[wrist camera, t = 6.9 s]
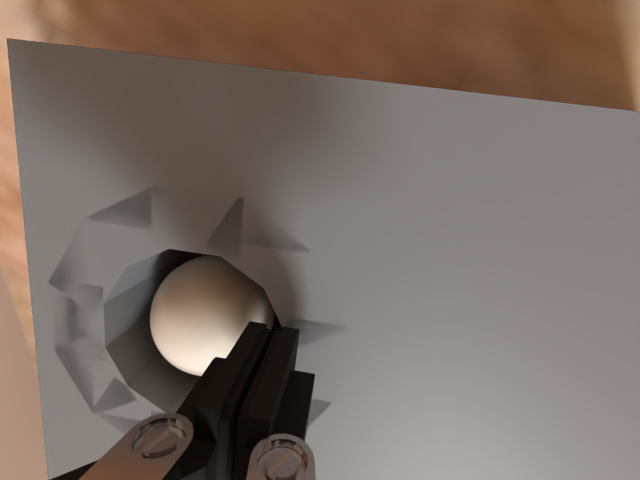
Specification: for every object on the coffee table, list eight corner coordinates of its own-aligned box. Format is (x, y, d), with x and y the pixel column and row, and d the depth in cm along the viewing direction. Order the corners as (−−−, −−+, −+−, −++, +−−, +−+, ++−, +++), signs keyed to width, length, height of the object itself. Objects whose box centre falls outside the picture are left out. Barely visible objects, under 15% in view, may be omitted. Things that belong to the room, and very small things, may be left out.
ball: (265, 225, 14) (278, 286, 18) (143, 236, 14) (183, 297, 18) (267, 338, 11) (282, 384, 15) (109, 357, 11) (167, 398, 14)
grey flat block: (120, 78, 15) (6, 38, 10) (641, 141, 13) (805, 131, 9) (126, 417, 19) (50, 503, 14) (519, 490, 18) (581, 613, 13)
